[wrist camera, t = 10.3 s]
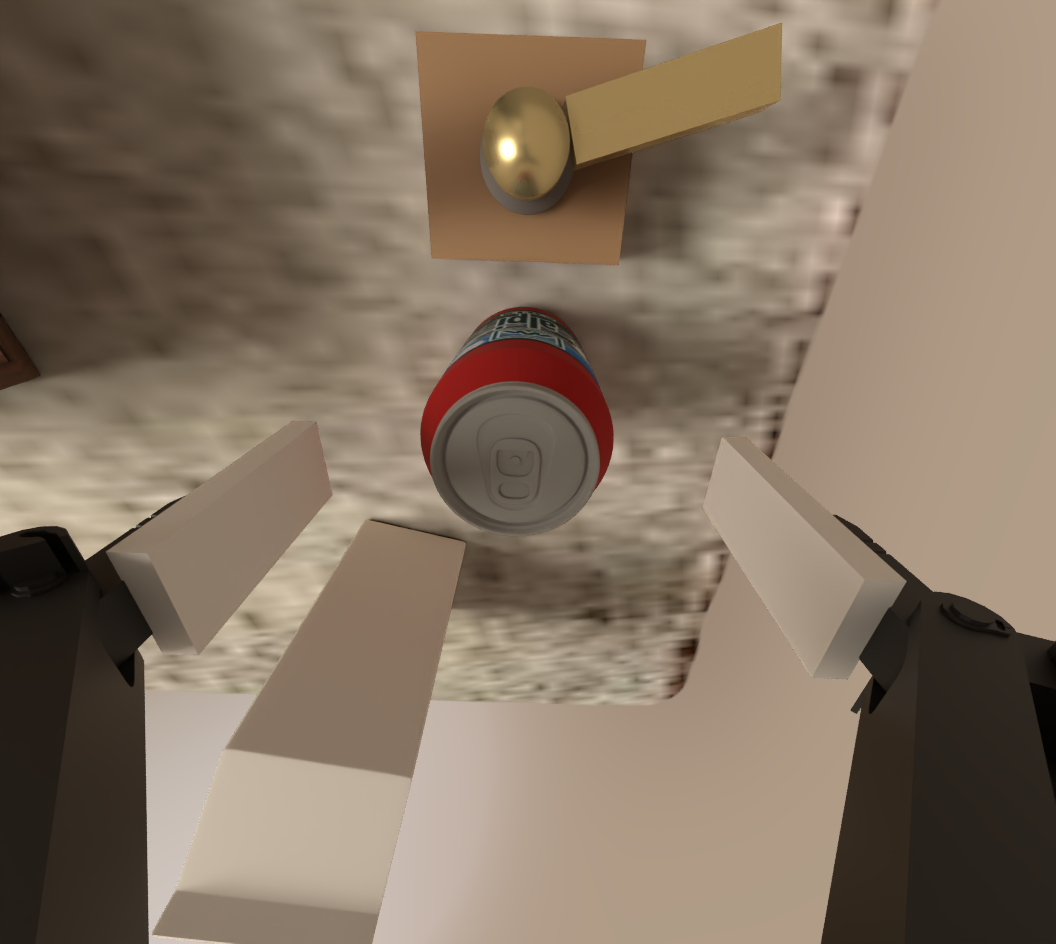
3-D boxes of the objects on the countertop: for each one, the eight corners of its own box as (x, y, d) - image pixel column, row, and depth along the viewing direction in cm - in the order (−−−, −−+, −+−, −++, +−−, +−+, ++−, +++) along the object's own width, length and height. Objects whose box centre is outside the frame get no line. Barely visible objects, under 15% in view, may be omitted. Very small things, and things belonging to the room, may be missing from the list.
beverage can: (590, 306, 22) (640, 365, 11) (577, 425, 25) (608, 557, 15) (461, 301, 22) (394, 355, 11) (466, 421, 25) (416, 549, 15)
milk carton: (365, 517, 29) (131, 895, 12) (466, 540, 30) (378, 924, 13) (357, 590, 32) (165, 966, 15) (448, 609, 33) (360, 985, 16)
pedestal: (436, 68, 18) (411, 25, 14) (626, 75, 18) (649, 33, 14) (446, 255, 21) (429, 258, 17) (606, 261, 21) (620, 265, 17)
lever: (753, 27, 14) (789, -8, 12) (753, 132, 15) (785, 116, 13) (479, 121, 15) (471, 103, 13) (501, 210, 16) (497, 206, 14)
